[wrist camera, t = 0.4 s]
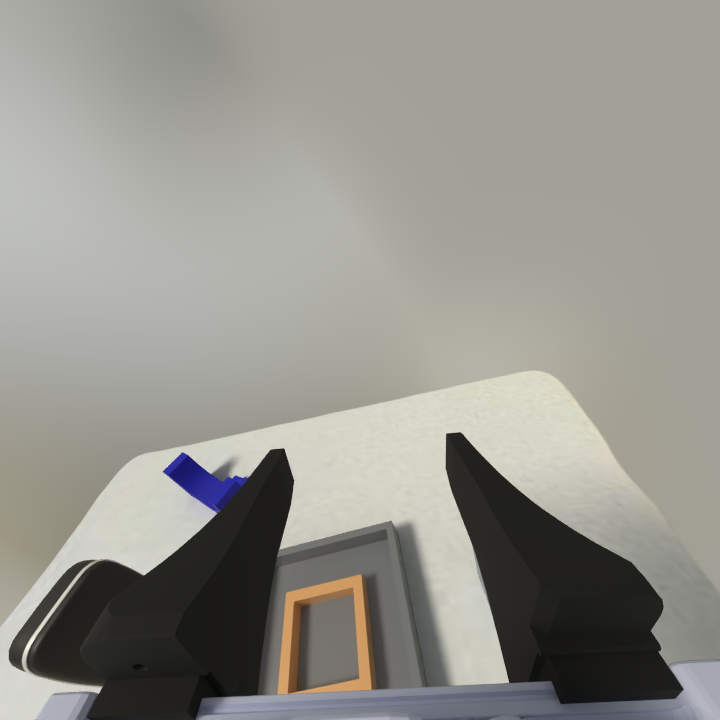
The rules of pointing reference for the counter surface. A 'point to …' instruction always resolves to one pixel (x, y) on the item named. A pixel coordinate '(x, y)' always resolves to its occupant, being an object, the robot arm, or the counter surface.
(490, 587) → the robot arm
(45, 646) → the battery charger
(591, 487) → the counter surface
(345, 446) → the counter surface
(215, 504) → the cable clip
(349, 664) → the box
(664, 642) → the counter surface
